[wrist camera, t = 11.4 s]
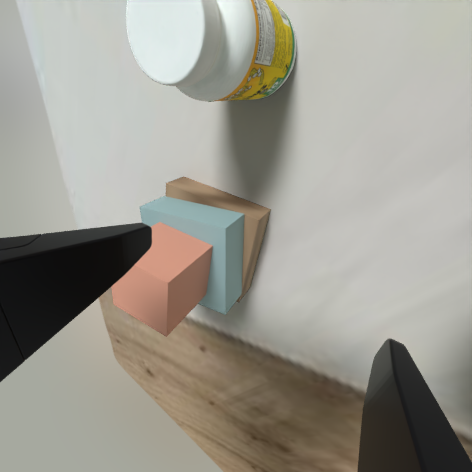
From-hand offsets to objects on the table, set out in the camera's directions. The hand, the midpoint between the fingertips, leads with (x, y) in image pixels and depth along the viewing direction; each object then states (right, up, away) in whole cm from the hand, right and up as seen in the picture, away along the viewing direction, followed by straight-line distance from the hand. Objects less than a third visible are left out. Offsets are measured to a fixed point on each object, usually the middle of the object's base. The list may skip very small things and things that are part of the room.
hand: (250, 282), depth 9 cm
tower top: (-3, +1, +15) cm, 15 cm away
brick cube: (-5, 0, +13) cm, 13 cm away
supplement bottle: (+1, +14, +9) cm, 17 cm away
